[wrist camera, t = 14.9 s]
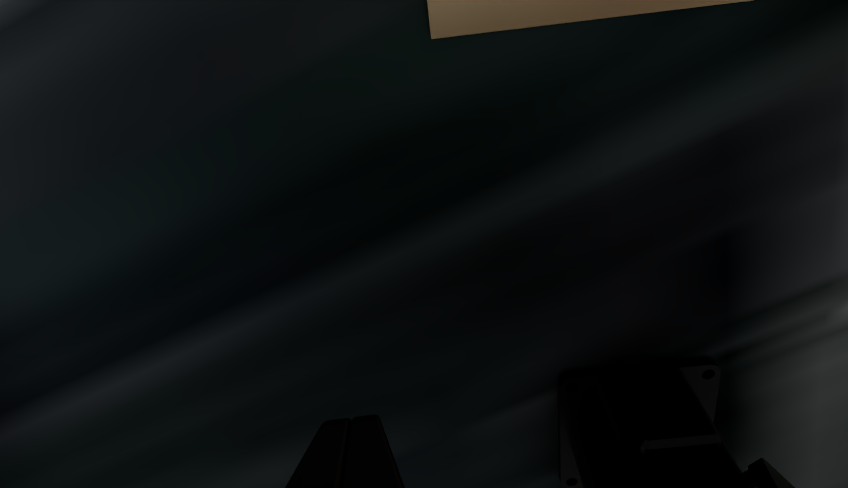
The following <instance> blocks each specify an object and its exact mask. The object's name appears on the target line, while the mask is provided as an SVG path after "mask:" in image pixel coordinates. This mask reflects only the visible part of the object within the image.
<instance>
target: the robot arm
mask: <svg viewBox="0 0 848 488" xmlns="http://www.w3.org/2000/svg"><path fill="white" fill-rule="evenodd" d="M706 370H709V371H708V372H706V373H703V372H704V371H706ZM720 377H721V370H720V368H719V367H718V365H717V364H716V363H715V361H714V360H712V359H706V358H705V359H695V360H685V361H675V362H665V363H655V364H644V365H634V366H624V367H614V368H604V369H594V370H584V371H574V372H567V373H564V374H563V375H561V376H560V378H559V379H558V453H559V479H560V482H561V486H562V487H563V488H795V487H794V486H793V485H792V484H791V483H790V482H788V481H787V480H786V479H785V478H784V477H783V476H782V475H781V474H780V473H779V472H778V471H777V470H776V469H774V468H773V467H772V466H771V465H770V464H769V463H768V462H767V461H766V460H765V459H764V458H760V459H759V460H757V461H755V462H754V463H752V464H750V465H749V466H748V468H749V469H748V470H747V471H745V472H743V473H742V471H741V469H740V468H739V466H738V464H737V463H736V461H735V460H734V458H733V456H732V455H731V453H730V451H729V450H728V448H727V446H726V445H725V443H724V441H723V440H722V438H721V435H720V433H719V432H718V430H717V429H716V427H715V425H714V417H715V410H716V404H717V397H718V390H719V383H720ZM570 383H575V384H574V385H572V386H567V385H568V384H570ZM570 478H571V479H570ZM285 488H405V487H404V485H403V482H402V479H401V476H400V473H399V470H398V468H397V465H396V462H395V459H394V456H393V454H392V451H391V448H390V445H389V442H388V439H387V437H386V434H385V431H384V428H383V425H382V423H381V420H380V418H379V416H378V415H366V416H359V417H355V418H353V419H352V421H351V419H349V418H343V419H335V420H328V421H325V422H324V423H323V424H322V425H321V426H320V428H319V430H318V431H317V433H316V435H315V437H314V438H313V440H312V442H311V444H310V445H309V447H308V449H307V451H306V452H305V454H304V456H303V457H302V459H301V461H300V463H299V464H298V466H297V468H296V470H295V471H294V473H293V475H292V477H291V478H290V480H289V482H288V484H287V485H286V487H285Z"/></svg>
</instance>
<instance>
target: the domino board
mask: <svg viewBox="0 0 848 488" xmlns="http://www.w3.org/2000/svg"><path fill="white" fill-rule="evenodd" d="M743 1H751V0H427V5H428V14H429V24H430V34H431V39H436V38H444V37H452V36H461V35H469V34H477V33H486V32H494V31H502V30H510V29H519V28H527V27H535V26H544V25H552V24H560V23H569V22H577V21H585V20H593V19H602V18H610V17H618V16H627V15H635V14H643V13H652V12H660V11H668V10H676V9H685V8H693V7H701V6H710V5H718V4H726V3H735V2H743Z"/></svg>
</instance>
